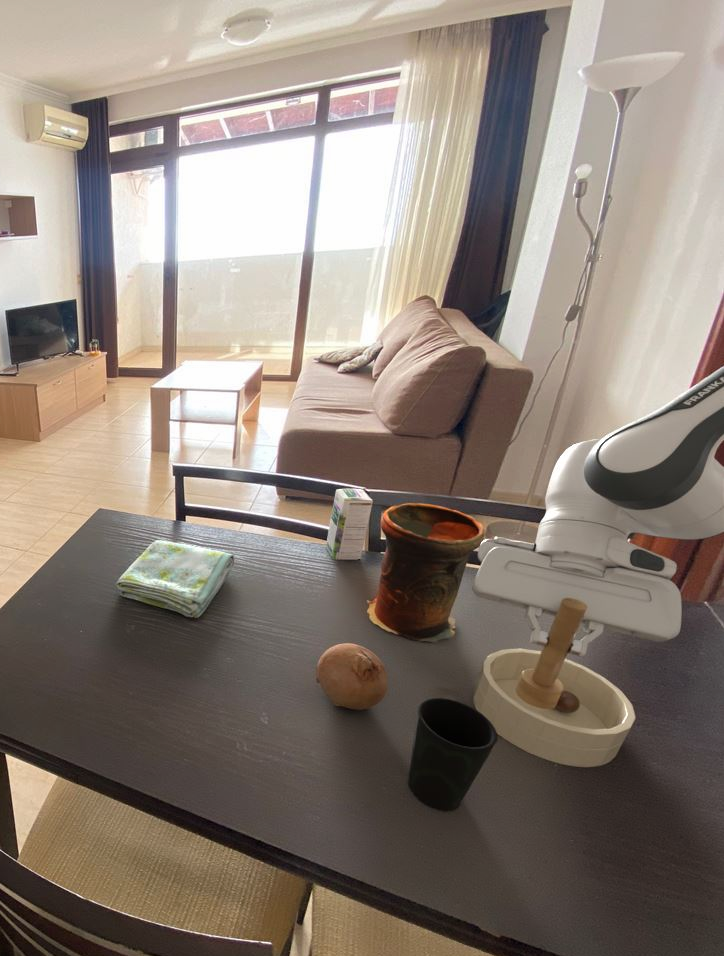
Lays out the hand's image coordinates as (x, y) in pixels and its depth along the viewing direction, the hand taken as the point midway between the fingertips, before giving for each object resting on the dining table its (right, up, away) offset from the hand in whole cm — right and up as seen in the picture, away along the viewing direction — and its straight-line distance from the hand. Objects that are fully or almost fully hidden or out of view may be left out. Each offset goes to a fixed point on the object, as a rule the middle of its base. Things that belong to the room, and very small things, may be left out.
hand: (557, 649), depth 71 cm
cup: (-18, -17, -3) cm, 25 cm away
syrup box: (-3, +8, +47) cm, 48 cm away
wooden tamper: (+1, -8, +4) cm, 9 cm away
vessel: (-2, -2, +27) cm, 27 cm away
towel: (-41, +2, +42) cm, 59 cm away
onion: (-21, -11, +12) cm, 27 cm away
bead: (+6, -9, +5) cm, 12 cm away
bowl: (+3, -11, +5) cm, 13 cm away
